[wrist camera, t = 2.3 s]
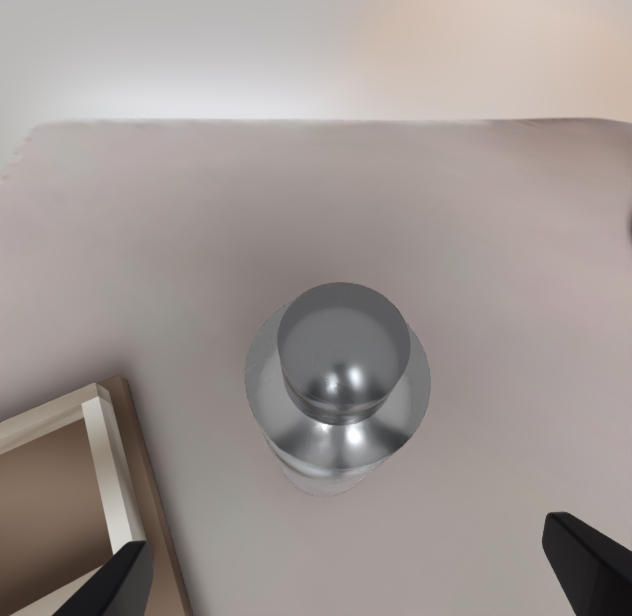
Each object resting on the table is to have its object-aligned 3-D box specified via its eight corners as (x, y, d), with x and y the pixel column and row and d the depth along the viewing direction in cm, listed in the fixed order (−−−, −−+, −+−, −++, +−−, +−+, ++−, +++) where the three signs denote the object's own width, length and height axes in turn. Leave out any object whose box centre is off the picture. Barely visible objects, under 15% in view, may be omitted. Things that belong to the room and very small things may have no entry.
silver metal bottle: (353, 514, 18) (426, 499, 7) (259, 472, 19) (189, 398, 8) (382, 417, 21) (473, 287, 9) (298, 383, 21) (287, 227, 10)
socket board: (238, 776, 14) (225, 823, 12) (-71, 1003, 11) (-159, 1116, 9) (127, 380, 21) (106, 364, 19) (-75, 467, 19) (-125, 460, 17)
